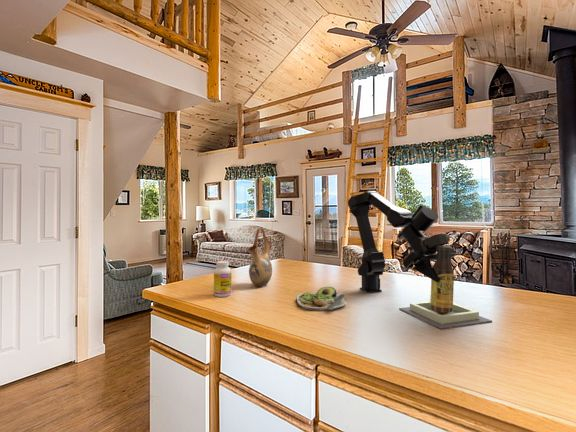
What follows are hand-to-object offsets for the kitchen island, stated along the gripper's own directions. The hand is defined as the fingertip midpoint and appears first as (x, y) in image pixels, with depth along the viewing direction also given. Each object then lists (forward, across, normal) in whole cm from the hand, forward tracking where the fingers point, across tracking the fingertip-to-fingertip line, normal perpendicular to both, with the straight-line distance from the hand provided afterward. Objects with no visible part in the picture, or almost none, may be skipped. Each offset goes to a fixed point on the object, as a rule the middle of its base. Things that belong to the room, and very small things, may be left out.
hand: (446, 280), depth 96 cm
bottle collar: (+7, 0, +8) cm, 11 cm away
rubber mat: (+7, 0, +8) cm, 11 cm away
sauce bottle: (+6, 0, +8) cm, 10 cm away
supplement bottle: (-31, -53, +48) cm, 78 cm away
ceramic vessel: (-36, -35, +53) cm, 73 cm away
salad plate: (-13, -25, +30) cm, 41 cm away
